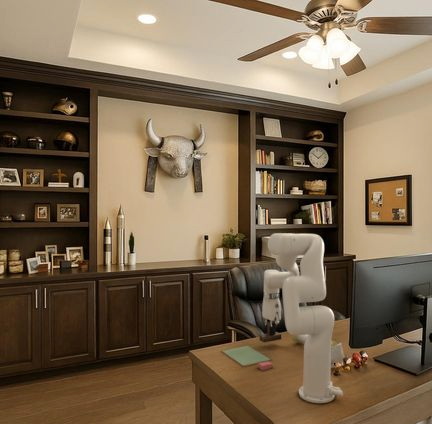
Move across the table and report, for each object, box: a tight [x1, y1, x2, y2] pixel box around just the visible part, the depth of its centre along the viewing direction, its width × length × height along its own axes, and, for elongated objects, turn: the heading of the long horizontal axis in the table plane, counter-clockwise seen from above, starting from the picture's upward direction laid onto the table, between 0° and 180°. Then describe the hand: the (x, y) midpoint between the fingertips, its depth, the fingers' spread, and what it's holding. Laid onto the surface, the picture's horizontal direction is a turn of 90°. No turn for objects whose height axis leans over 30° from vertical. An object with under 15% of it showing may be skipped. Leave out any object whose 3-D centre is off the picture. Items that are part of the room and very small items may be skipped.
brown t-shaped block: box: [259, 322, 282, 343], centre depth 187 cm, size 4×10×8 cm, turn 122°
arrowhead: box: [331, 342, 346, 369], centre depth 163 cm, size 8×2×10 cm, turn 119°
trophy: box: [291, 334, 340, 364], centre depth 180 cm, size 8×8×30 cm
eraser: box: [257, 360, 273, 371], centre depth 161 cm, size 3×5×2 cm, turn 122°
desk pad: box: [222, 345, 272, 367], centre depth 174 cm, size 20×14×1 cm
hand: (270, 333), depth 187 cm, fingers closed on brown t-shaped block, 2 cm apart
